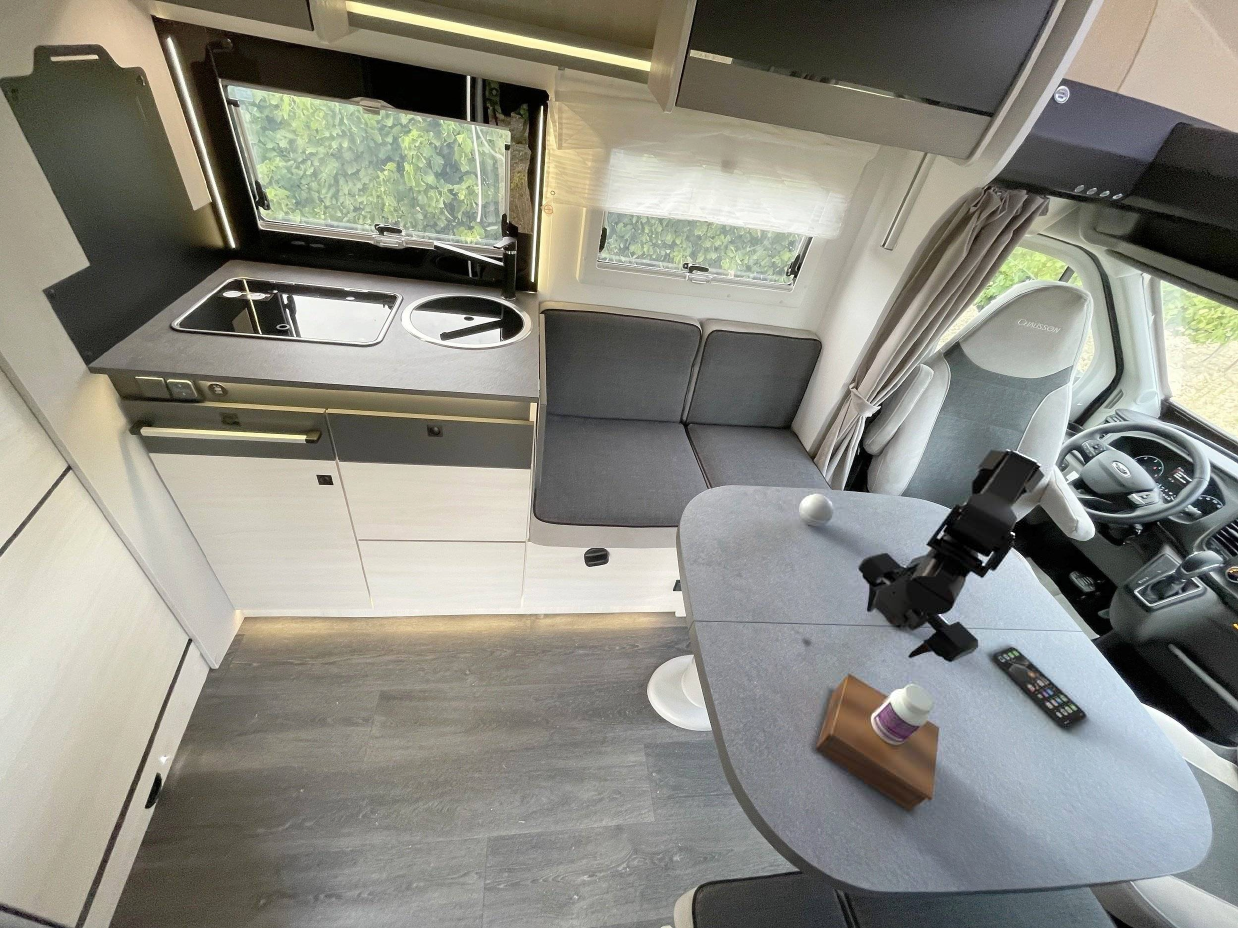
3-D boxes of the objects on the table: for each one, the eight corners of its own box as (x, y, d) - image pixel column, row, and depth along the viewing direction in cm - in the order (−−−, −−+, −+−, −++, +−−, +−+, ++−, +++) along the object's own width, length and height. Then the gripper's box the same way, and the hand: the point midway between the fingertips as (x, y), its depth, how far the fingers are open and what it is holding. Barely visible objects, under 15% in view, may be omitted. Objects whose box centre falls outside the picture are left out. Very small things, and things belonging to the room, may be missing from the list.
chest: (909, 810, 75) (930, 795, 71) (815, 748, 80) (830, 731, 76) (917, 745, 83) (936, 729, 80) (832, 693, 88) (846, 675, 85)
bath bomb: (796, 506, 129) (808, 483, 124) (826, 518, 127) (840, 495, 123) (792, 525, 123) (804, 501, 118) (824, 537, 121) (838, 514, 116)
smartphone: (1013, 645, 103) (1088, 715, 92) (1011, 647, 103) (1086, 717, 93) (991, 654, 100) (1066, 727, 89) (989, 656, 100) (1063, 729, 90)
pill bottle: (907, 751, 75) (942, 722, 69) (871, 737, 76) (903, 707, 70) (902, 718, 79) (935, 687, 73) (868, 705, 80) (898, 673, 74)
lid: (929, 800, 71) (932, 798, 70) (829, 736, 76) (831, 733, 75) (936, 729, 80) (939, 726, 79) (846, 675, 85) (848, 673, 84)
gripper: (856, 539, 78) (817, 600, 88) (958, 640, 65) (899, 699, 75) (904, 526, 83) (862, 586, 92) (1008, 619, 70) (947, 677, 79)
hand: (889, 633), depth 84 cm, fingers open, 9 cm apart
